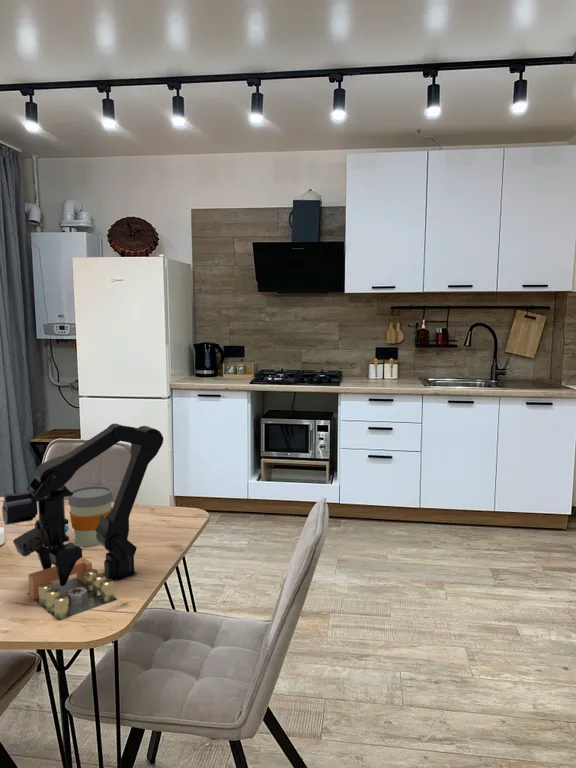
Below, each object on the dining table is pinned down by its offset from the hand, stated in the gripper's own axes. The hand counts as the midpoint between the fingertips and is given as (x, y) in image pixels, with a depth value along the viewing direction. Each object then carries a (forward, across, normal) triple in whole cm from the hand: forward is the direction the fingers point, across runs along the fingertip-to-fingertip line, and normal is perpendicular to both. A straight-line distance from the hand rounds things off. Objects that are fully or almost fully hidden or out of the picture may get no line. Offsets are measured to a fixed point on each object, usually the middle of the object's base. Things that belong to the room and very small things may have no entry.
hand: (54, 579), depth 141 cm
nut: (+3, +9, +1) cm, 9 cm away
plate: (+3, +6, +1) cm, 7 cm away
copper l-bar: (+3, 0, +1) cm, 3 cm away
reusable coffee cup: (+4, -26, +22) cm, 34 cm away
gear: (+4, -24, +10) cm, 26 cm away
